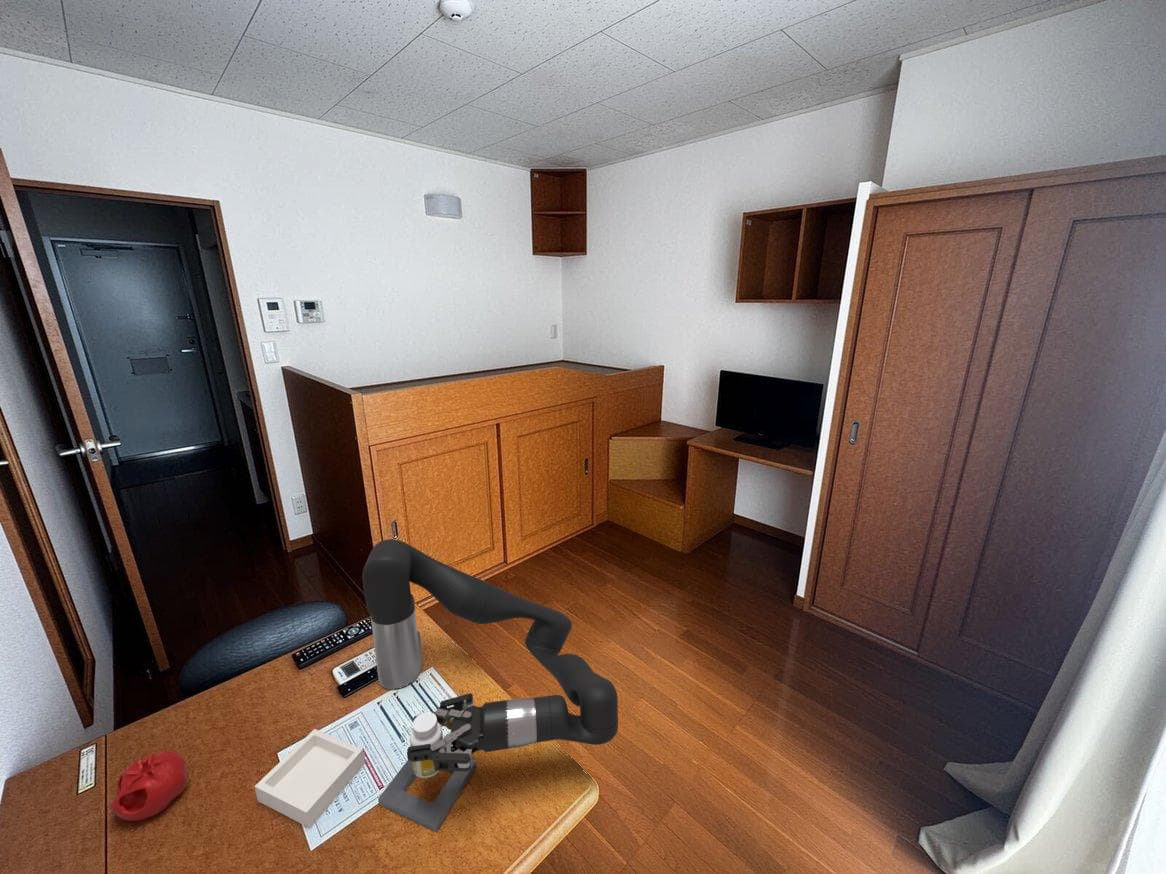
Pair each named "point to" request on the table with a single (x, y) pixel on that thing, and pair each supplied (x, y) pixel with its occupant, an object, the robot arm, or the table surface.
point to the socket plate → (420, 808)
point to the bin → (310, 777)
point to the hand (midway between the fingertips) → (411, 737)
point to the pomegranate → (149, 785)
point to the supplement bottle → (425, 741)
